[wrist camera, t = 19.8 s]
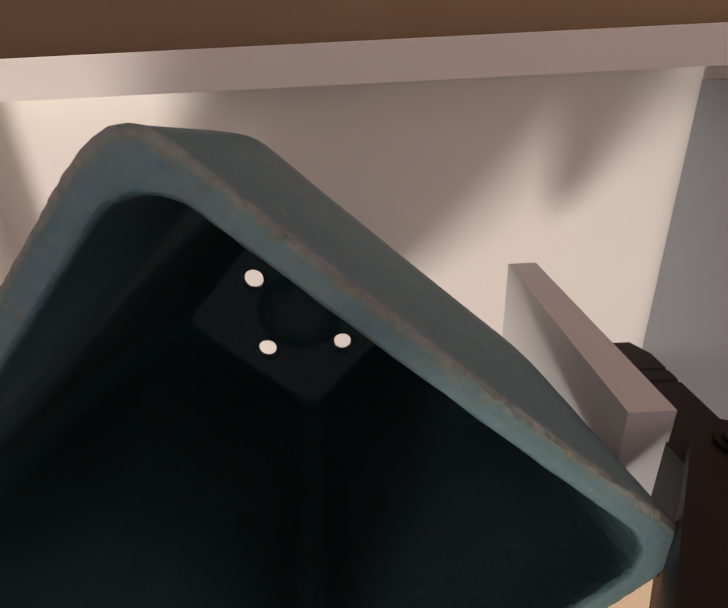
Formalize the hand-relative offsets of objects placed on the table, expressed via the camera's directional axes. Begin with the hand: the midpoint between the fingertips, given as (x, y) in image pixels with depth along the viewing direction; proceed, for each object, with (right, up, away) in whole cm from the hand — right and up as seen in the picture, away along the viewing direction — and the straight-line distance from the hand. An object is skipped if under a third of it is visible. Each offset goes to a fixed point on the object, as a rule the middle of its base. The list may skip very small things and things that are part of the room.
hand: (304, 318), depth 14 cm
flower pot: (0, 0, +1) cm, 1 cm away
